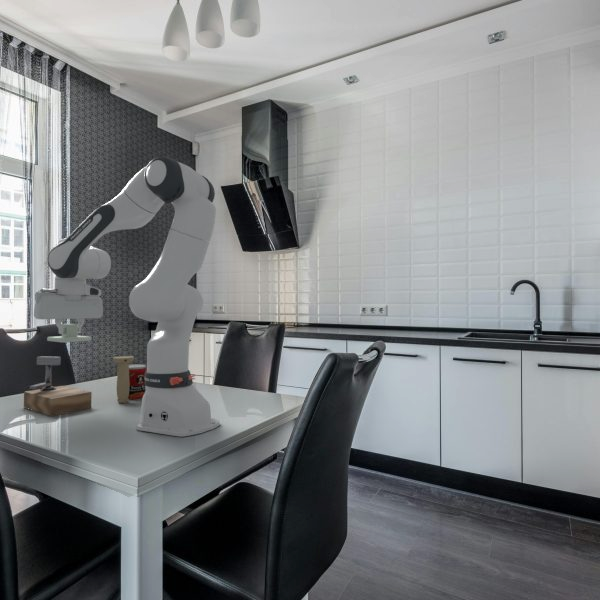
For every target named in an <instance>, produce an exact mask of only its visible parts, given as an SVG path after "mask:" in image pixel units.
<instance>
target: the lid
mask: <svg viewBox="0 0 600 600" xmlns="http://www.w3.org/2000/svg"><path fill="white" fill-rule="evenodd" d="M61 324H62V326H63V327H64V328H66V334H61V335H59V336H58V335H57V336H47V338H46V340H47V342H56V343H73V342H74V343H75V342H89V341H92V336H88V335H78V333H77V329H78V323H61Z"/></svg>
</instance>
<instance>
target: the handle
mask: <svg viewBox="0 0 600 600" xmlns="http://www.w3.org/2000/svg"><path fill="white" fill-rule="evenodd" d="M134 360H135V357H134V355H131V356H130V355H129V356H128V355H127V356H126V355H125V356H116V357H115V356H114V357H112V362H113V363H115V364H117V375H116V376H117V377H116V397H117V398H116V400H117V403H118V404H126V403H128V402H129V400H130V399H129V398H128V396H129V388H130V387H129V386H130V385H129V384H130V382H129V365H130V364H131V363H132V362H134Z"/></svg>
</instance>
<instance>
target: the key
mask: <svg viewBox="0 0 600 600" xmlns="http://www.w3.org/2000/svg"><path fill="white" fill-rule="evenodd" d="M61 360H62V359H61V356H51V355H50V356H47V355H46V356H44V355H42V356H41V355H40V356H37V357H36V365H37V366H38V365H39V366H45V381H44V382H40V383H37V384H33V385H29V389H30V390H31V389H32V390H39V389H42V390H51V389H54V387H55V386H53V385H52V384H53V383H52V366H60V365H61V362H62V361H61Z"/></svg>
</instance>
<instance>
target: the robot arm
mask: <svg viewBox="0 0 600 600" xmlns="http://www.w3.org/2000/svg"><path fill="white" fill-rule="evenodd" d="M215 193H216V192H215V187H214V185H213V184H212V182H211V181H210V180H209V179H208V178H207V177H206V176H204V175H201V174H200V173H199V172H197V171H195V170H194V169H193V168H192V167H191V166H189V165H187V164H184V163H183V162H179V161H178V160H176V159H174V158H171V157H169V156H156V157H154V158H153V159H152V160H150V161H149V163H148V164H147V165H146V166H144V167H143V168H142V169H140V170H139V171H138V172H137V173H136V174H135V175H134V176H133V177H132V178H131V179H130V180H129V181H128V182H127V184H126V185H125V186H124V188H123V189H122V190H121V192H119V193H118V194H117V195H116V196H115V197H114V198H113V199H111V200H110V201H108V202H106V203H105V204H102V205H100V206H99V207H97V208H96V209H94V210H93V211H92V212H91V213H90V214H89V215H88V216H87V217H86V218H85V219H84V220H83V221H82V222H81V223H80V224H79V225H78V226H77V227H76V228H75V229H74V230H73V231H72V232H71V233H70V234H69V235H68V236H67V237H64V238H62V239H60V240H58V243H57V244H56V245H54V247H52V249H50V251H49V253H48V256H47V263H48V267H49V269H50V270H51V272H52V273H53V274H54V275H55V277H54V288H40V289H39V290H37V291H36V292H35V294H34V300H35V304H34V308H33V309H34V310H33V316H34V318H35V319H36V320H54V323H55V326H56V327H57V328H58V334H59V335H62V334H66V328H64V327H63V326H62V324H64V320H73V319H75V320H76V323H77V324H78V329H77V334H81V332H82V326H83V325H84V324H85V321H86V320H85V319H102V317H103V315H104V305H103V300H102V297H100V296H101V295H102V289H100V288H97V287H95V286H92V285H90V284H87V280H88V279H89V280H101V279H104V278H106V277H108V276H109V275H110V273H111V271H112V268H113V260H112V257H111V255H110V253H108V251H106V250H104V249H100V248H97V247H95V246H93V245H94V244H95V243H96V242H97V241H98V240H99V239H100V238H101V237H102V236H105V235H106V234H108V233H111V232H116V231H122V230H135V229H140V228H143V227H144V226H146V225H147V224H148V223H150V222H151V221H152V220H153V218H154V217H155V216H156V215H157V213H158V212H159V211H160V209H161V208H162V206H163V205H165V204H171V205H172V206H173V208H174V209H173V210H174V215H173V220H172V223H171V226H170V229H169V231H168V234H167V238H166V240H165V243H164V246H163V249H162V251H161V253H160V256H159V258H158V260H157V262H156V263H155V265H154V266H153V267H152V269H151V271H150V272H149V273H148V274H147V276H146V278H144V279H143V280H142V281H141V282H139V283H137V285H135V286H134V287H133V288H132V290H131V291H130V294H129V297H128V305H129V309H130V311H131V313H132V314H133V315H134V316H135V317H136V318H138V319H140V320H144V321H147V322H150V323H151V322H152V323H157V325H156V327H155V328H156V329H155V331H154V334H153V335H152V337H151V338H150V339H149V340H148V342H147V345H146V347H147V348H146V372H145V385H146V390H145V393H144V395H143V398H141V407H140V416H139V423H137V425H136V431H141V432H146V433H147V432H149V433H153V434H161V435H166V436H173V437H174V436H175V437H189V436H194V435H199V434H202V433H206V432H208V431H209V432H210V431H212V430H214V429H215V428H217V427H218V426H220V424H221V423H220V420H218V419H216V418H213V417H212V412H211V411H212V410H211V405H210V402H209V401H208V400H207V399H206V398H205V397H204V396H203V395H202V394H201V393H200V391H199V390H198V389H197V388H196V387H195V386H194V385H193V384H194V382H193V380H196V378H195V377H196V374H191V370H189V361H190V359H189V357H190V355H189V354H190V341H191V335H192V331H193V328H194V324H195V321H196V318H197V317H198V314H199V313H200V312H201V311H202V309H203V308H202V307H203V303H204V302H203V301H204V299H203V295H202V293H201V292H200V291H199V290H198V289H197V288H195V287H194V286H192V285H190V284H188V283H189V282H190V281H191V279H192V277H194V275H195V274H197V273H198V272H199V271H200V270H201V268H202V266H203V263H204V261H205V257H206V255H207V251H208V248H209V245H210V241H211V239H212V235H213V232H214V227H215V222H216V214H217V213H216V211H217V210H216V206H215V205H214V203H213V202H214V200H215V195H216V194H215Z"/></svg>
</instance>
